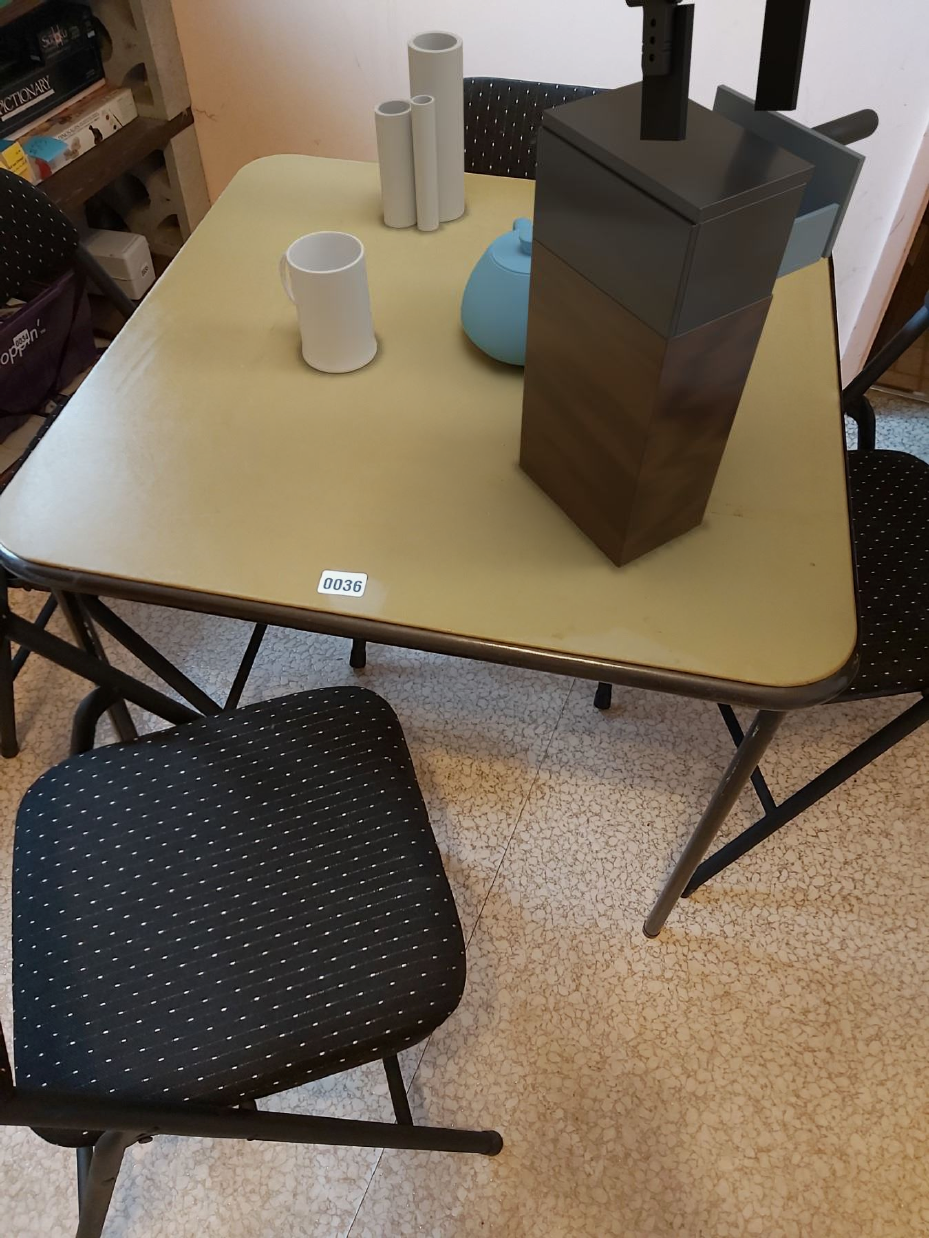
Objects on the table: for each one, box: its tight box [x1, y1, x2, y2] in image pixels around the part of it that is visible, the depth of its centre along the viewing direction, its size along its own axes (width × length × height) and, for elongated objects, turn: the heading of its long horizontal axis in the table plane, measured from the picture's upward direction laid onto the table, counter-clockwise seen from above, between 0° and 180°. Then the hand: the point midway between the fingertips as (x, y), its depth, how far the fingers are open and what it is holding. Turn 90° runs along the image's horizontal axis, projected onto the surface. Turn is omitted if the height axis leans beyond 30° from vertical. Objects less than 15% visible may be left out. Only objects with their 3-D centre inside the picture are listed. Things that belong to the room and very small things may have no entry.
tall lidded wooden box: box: [518, 80, 815, 568], centre depth 69 cm, size 10×16×33 cm, turn 32°
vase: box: [373, 30, 466, 232], centre depth 105 cm, size 11×7×20 cm, turn 126°
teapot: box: [460, 217, 533, 366], centre depth 92 cm, size 20×20×13 cm
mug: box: [278, 230, 378, 374], centre depth 92 cm, size 12×8×12 cm
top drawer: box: [712, 83, 880, 280], centre depth 63 cm, size 20×14×7 cm
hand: (722, 125), depth 54 cm, fingers open, 13 cm apart
